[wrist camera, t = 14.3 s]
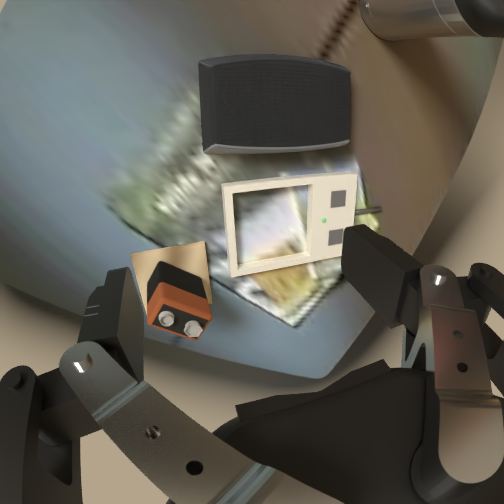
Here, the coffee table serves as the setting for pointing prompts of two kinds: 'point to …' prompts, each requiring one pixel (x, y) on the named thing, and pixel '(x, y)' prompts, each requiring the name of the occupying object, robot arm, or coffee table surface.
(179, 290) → the battery
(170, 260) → the cork pad
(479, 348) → the robot arm
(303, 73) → the external hard drive
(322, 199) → the charging dock
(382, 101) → the coffee table surface
